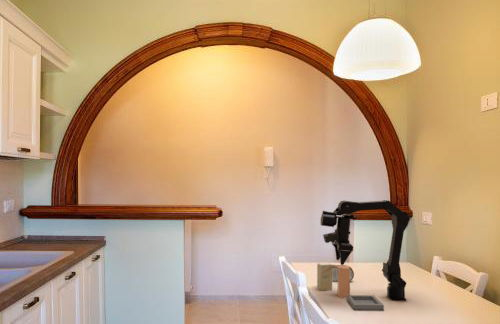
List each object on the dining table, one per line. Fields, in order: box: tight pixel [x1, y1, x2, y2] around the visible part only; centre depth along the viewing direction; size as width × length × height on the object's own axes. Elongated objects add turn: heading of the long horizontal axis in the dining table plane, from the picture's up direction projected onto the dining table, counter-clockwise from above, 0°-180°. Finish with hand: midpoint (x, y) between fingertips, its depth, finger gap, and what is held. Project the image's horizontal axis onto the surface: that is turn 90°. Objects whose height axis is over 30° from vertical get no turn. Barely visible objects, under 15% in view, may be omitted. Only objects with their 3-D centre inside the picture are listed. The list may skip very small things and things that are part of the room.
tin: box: [332, 264, 355, 283], centre depth 184 cm, size 15×3×8 cm, turn 84°
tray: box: [346, 294, 385, 312], centre depth 150 cm, size 12×12×2 cm
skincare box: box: [316, 262, 333, 291], centre depth 171 cm, size 6×4×12 cm
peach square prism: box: [337, 265, 351, 299], centre depth 162 cm, size 5×5×13 cm
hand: (339, 262), depth 160 cm, fingers open, 9 cm apart
